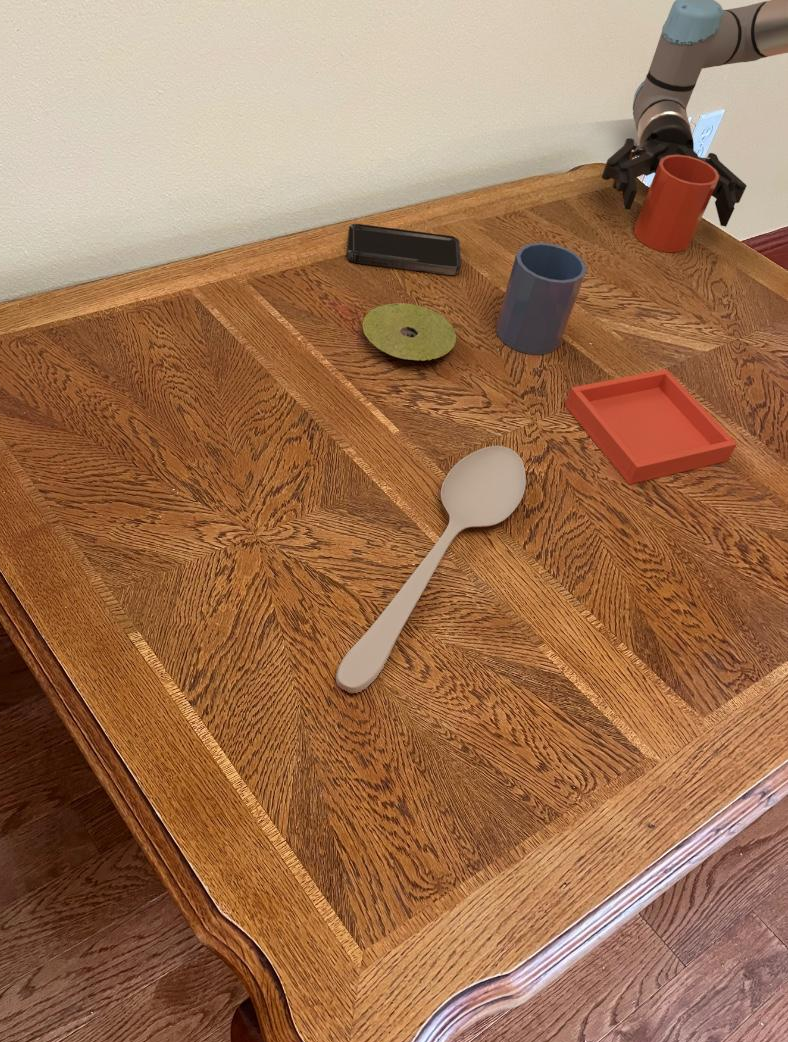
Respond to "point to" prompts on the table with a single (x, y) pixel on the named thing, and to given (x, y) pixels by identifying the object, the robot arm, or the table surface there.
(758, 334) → the table surface
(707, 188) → the rust cup
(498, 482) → the spoon
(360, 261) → the phone
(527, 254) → the blue cup
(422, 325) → the green grinding disc
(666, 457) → the red tray
